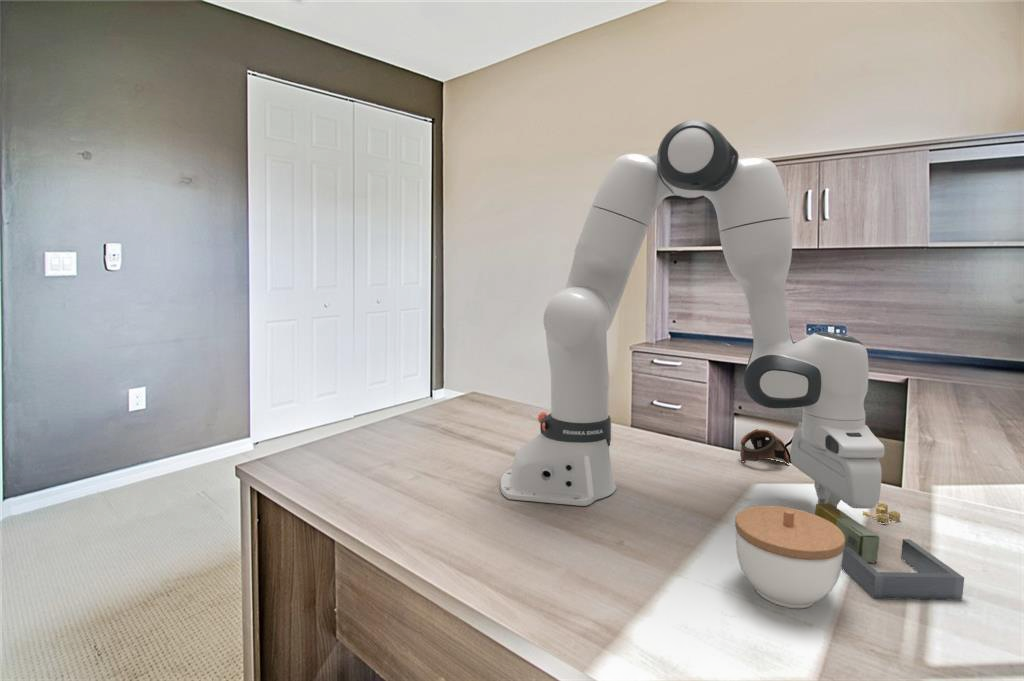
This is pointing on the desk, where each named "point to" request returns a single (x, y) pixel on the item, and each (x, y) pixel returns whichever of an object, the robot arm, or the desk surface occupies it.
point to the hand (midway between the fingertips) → (826, 511)
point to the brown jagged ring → (763, 446)
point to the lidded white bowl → (788, 554)
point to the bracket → (906, 576)
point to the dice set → (881, 516)
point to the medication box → (851, 532)
